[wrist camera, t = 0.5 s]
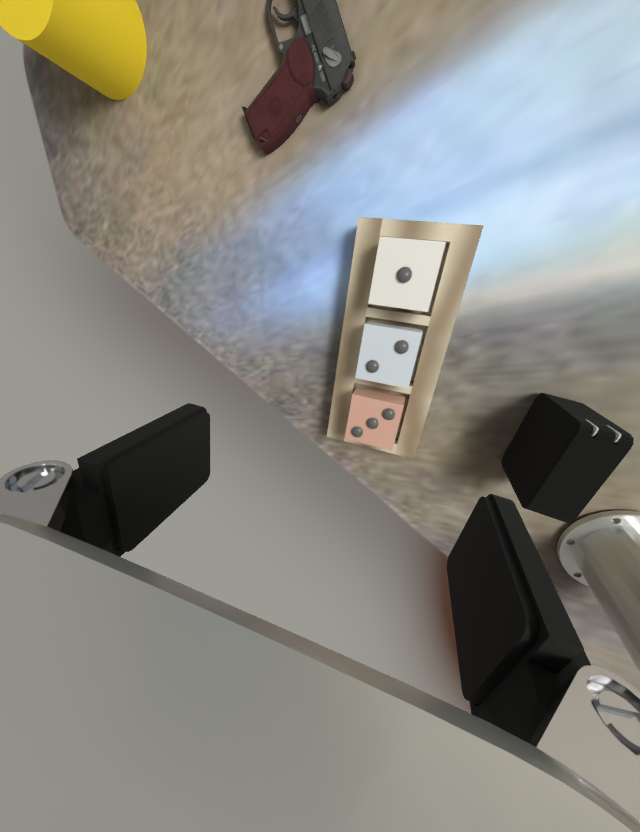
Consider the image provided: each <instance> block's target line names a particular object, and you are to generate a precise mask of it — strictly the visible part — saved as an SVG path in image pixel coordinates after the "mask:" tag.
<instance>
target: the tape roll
mask: <svg viewBox="0 0 640 832" xmlns="http://www.w3.org/2000/svg"><path fill="white" fill-rule="evenodd" d="M0 25H1V26H2V27H3V29H4V30H5V31H7V32H8V33H9V34H11V35H12V36H13V37H15V38H16V39H18V40H19V41H21V42H22V43H24V44H26V45H27V46H29V47H30V48H32V49H33V50H35V51H36V52H38V53H40V54H41V55H43V56H44V57H46V58H47V59H49V60H50V61H52V62H54V63H55V64H57V65H58V66H60V67H61V68H63V69H64V70H66V71H68V72H69V73H71V74H72V75H74V76H75V77H77V78H78V79H80V80H82V81H83V82H85V83H86V84H88V85H89V86H91V87H92V88H94V89H96V90H97V91H99V92H100V93H102V94H103V95H105V96H106V97H108V98H110V99H113V100H123V99H126V98H128V97H129V96H131V95H132V94H133V93H134V92H135V90H136V89H137V87H138V86H139V84H140V82H141V79H142V76H143V73H144V69H145V63H146V35H145V28H144V23H143V19H142V16H141V13H140V10H139V8H138V5H137V3H136V1H135V0H0Z"/></svg>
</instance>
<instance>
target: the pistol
mask: <svg viewBox="0 0 640 832" xmlns="http://www.w3.org/2000/svg"><path fill="white" fill-rule="evenodd" d="M296 1H297V4H296V6H295V7H294V8H293V9H292V11H291V12H290V13H288V14H286V15H283V14H281V13H279V11H278V10H277V9H276V8H275V6H273V9H274V11H275V13H276V15H277V17H278V18H279V19H281V20H283V21H290V20H292V19H294V18H295V20H296V21H297V22H298V23H299V26H298V29H297V32H296V35H295V36H294V37H293V38H291V39H289V40H287V41H283V42H280V43H279V41H278V39H277V36H276V32H275V28H274V25H273V20H272V16H271V3H272V0H266V8H267V14H268V19H269V23H270V26H271V30H272V34H273V37H274V39H275V42H276V44H277V47H278V49H279V51H280V53H281V55H282V61H281V64H280V66H279V68H278V69H277V71H276V72H275V73H274V74H273V76H272V77H271V78H270V80H269V81H268V82H267V84H266V85H265V86H264V87H263V89H262V90H261V91H260V93H259V94H258V95H257V97H256V98H255V99H254V100H253V102H252V103H251V104H250V106H249V107H248V108H246V107H242V109H243V111H244V114H245V116H246V119H247V122H248V124H249V127H250V129H251V132H252V135H253V137H254V139H255V140H256V143H257V144H258V145H259V146H260V147H261V149H262V150H263V151H264V152H265V153H266V154H267V155H268V154H270V153H271V152H273V151H274V150H275V149H277V148H278V147H280V146H281V145H282V144H283V143H284V142H285V141H286V140H287V139H288V138H289V137H290V135H291V134H292V133H293V132H294V131H295V129H296V128H297V127H298V125H299V124H300V123H301V121H302V120H303V118H304V117H305V115H306V114H307V112H308V110H309V109H310V107H311V106H312V105H313V104H314V103H315V102H317V101H319V99H324V100H326V101H327V103H328V104H329V105H330V106H331V105H333V104H334V103H335V102H337V101H338V100H339V99H340V97H341V96H342V94H343V92H344V90H345V89H346V88H347V89H348V88H350V87H351V86H352V84H353V81H354V77H353V74H352V71H353V69H354V66H355V62H354V60H355V59H356V57H355V53H354V51H351V49H350V46H349V42H348V39H347V36H346V32H345V29H344V26H343V23H342V19H341V16H340V13H339V9H338V6H337V3H336V0H296Z"/></svg>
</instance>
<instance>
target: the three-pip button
mask: <svg viewBox="0 0 640 832" xmlns="http://www.w3.org/2000/svg"><path fill="white" fill-rule="evenodd" d="M404 402H405V397H403V396H399V395H394V394H389V393H384V392H380V391H375V390H370V389H365V388H361V387H357V388H356V390H355V391H354V393H353V394H352V399H351V405H350V410H349V416H348V422H347V427H346V433H345V439H348V440H352V441H355V442H359V443H363V444H367V445H371V446H375V447H379V448H383V449H387V450H391V451H392V450H393V446H394V442H395V438H396V435H397V431H398V427H399V423H400V419H401V415H402V411H403V407H404Z"/></svg>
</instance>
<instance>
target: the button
mask: <svg viewBox="0 0 640 832" xmlns="http://www.w3.org/2000/svg"><path fill="white" fill-rule="evenodd" d="M445 244H446V242H441V241H429V240H417V239H405V238H393V237H381V236H380V238H379V244H378V250H377V255H376V261H375V267H374V273H373V278H372V284H371V290H370V296H369V301H368V304H374V305H381V306H388V307H395V308H402V309H409V310H416V311H424V312H428V310H429V306H430V302H431V299H432V295H433V291H434V287H435V283H436V279H437V275H438V271H439V268H440V264H441V260H442V256H443V252H444V248H445Z"/></svg>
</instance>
